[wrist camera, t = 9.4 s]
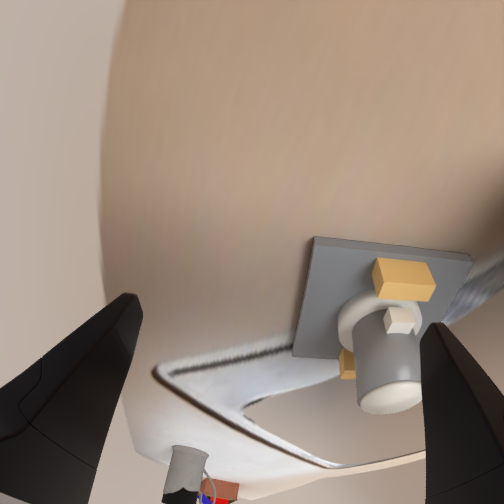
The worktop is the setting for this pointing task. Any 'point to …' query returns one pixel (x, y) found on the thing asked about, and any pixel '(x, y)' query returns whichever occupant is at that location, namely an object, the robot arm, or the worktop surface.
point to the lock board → (353, 277)
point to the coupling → (387, 361)
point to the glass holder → (185, 476)
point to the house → (218, 491)
